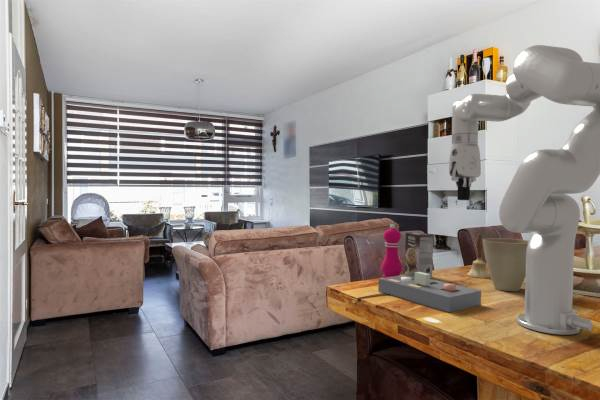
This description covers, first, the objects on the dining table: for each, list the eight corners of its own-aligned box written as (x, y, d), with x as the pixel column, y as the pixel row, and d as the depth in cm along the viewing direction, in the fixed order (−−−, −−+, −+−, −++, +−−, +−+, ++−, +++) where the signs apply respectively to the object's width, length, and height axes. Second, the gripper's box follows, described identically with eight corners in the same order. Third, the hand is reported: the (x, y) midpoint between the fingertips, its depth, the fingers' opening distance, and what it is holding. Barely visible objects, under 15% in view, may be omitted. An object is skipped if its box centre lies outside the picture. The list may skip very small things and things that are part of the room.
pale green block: (429, 295, 117) (430, 274, 117) (425, 296, 116) (425, 274, 116) (418, 292, 120) (419, 271, 120) (414, 293, 119) (414, 272, 119)
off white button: (413, 285, 125) (413, 278, 125) (406, 286, 124) (406, 279, 124) (405, 283, 128) (405, 276, 128) (398, 284, 126) (398, 277, 126)
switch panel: (480, 304, 112) (481, 289, 112) (448, 312, 105) (449, 296, 104) (409, 286, 134) (409, 273, 134) (378, 291, 126) (378, 277, 126)
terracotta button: (458, 292, 112) (458, 285, 112) (451, 294, 110) (451, 286, 110) (448, 290, 115) (448, 282, 115) (441, 291, 113) (441, 284, 113)
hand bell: (495, 278, 148) (496, 235, 147) (472, 278, 148) (473, 235, 147) (484, 273, 156) (485, 232, 156) (463, 273, 156) (464, 232, 156)
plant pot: (530, 286, 135) (531, 239, 135) (535, 296, 122) (536, 244, 121) (481, 281, 141) (482, 236, 141) (481, 291, 128) (482, 241, 128)
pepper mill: (402, 283, 138) (403, 225, 137) (381, 282, 139) (381, 224, 139) (401, 278, 145) (402, 223, 144) (381, 277, 146) (381, 223, 146)
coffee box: (404, 274, 153) (404, 232, 153) (418, 273, 155) (419, 231, 155) (417, 279, 144) (418, 234, 144) (433, 278, 146) (434, 234, 146)
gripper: (460, 137, 117) (459, 200, 117) (490, 141, 125) (488, 200, 126) (438, 140, 123) (437, 199, 124) (468, 143, 131) (467, 199, 132)
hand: (463, 200), depth 125 cm, fingers closed
